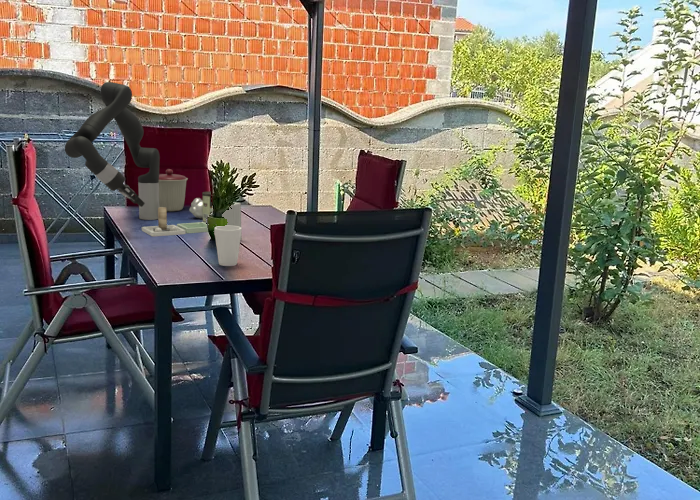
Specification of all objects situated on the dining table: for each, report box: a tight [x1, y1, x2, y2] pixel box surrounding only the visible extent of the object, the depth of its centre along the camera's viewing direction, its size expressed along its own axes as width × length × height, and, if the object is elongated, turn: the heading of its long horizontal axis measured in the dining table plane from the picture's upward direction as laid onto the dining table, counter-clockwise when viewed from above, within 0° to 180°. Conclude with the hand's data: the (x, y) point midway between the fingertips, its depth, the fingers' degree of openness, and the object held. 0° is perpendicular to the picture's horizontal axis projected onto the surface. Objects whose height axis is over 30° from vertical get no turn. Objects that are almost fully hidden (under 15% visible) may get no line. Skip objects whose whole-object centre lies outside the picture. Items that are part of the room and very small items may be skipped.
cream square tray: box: [141, 224, 187, 237], centre depth 278 cm, size 14×14×2 cm
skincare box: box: [222, 202, 243, 241], centre depth 271 cm, size 8×7×16 cm
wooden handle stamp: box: [153, 207, 170, 232], centre depth 278 cm, size 6×6×10 cm
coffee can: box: [202, 190, 213, 223], centre depth 309 cm, size 10×10×14 cm
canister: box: [159, 168, 189, 212], centre depth 336 cm, size 18×18×21 cm
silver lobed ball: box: [189, 197, 203, 220], centre depth 318 cm, size 9×10×10 cm
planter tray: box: [176, 221, 209, 234], centre depth 286 cm, size 12×12×3 cm
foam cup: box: [213, 225, 243, 267], centre depth 232 cm, size 10×9×13 cm
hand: (139, 203), depth 270 cm, fingers open, 8 cm apart
